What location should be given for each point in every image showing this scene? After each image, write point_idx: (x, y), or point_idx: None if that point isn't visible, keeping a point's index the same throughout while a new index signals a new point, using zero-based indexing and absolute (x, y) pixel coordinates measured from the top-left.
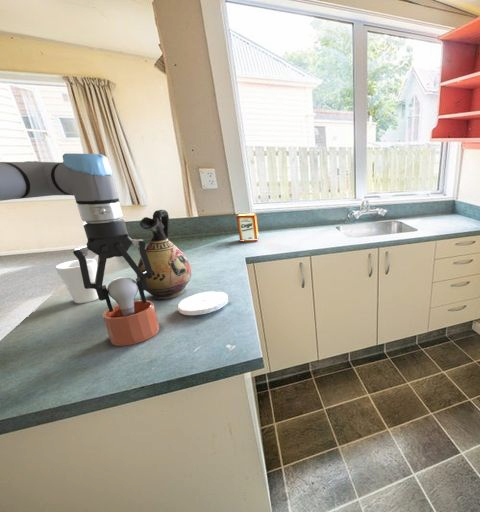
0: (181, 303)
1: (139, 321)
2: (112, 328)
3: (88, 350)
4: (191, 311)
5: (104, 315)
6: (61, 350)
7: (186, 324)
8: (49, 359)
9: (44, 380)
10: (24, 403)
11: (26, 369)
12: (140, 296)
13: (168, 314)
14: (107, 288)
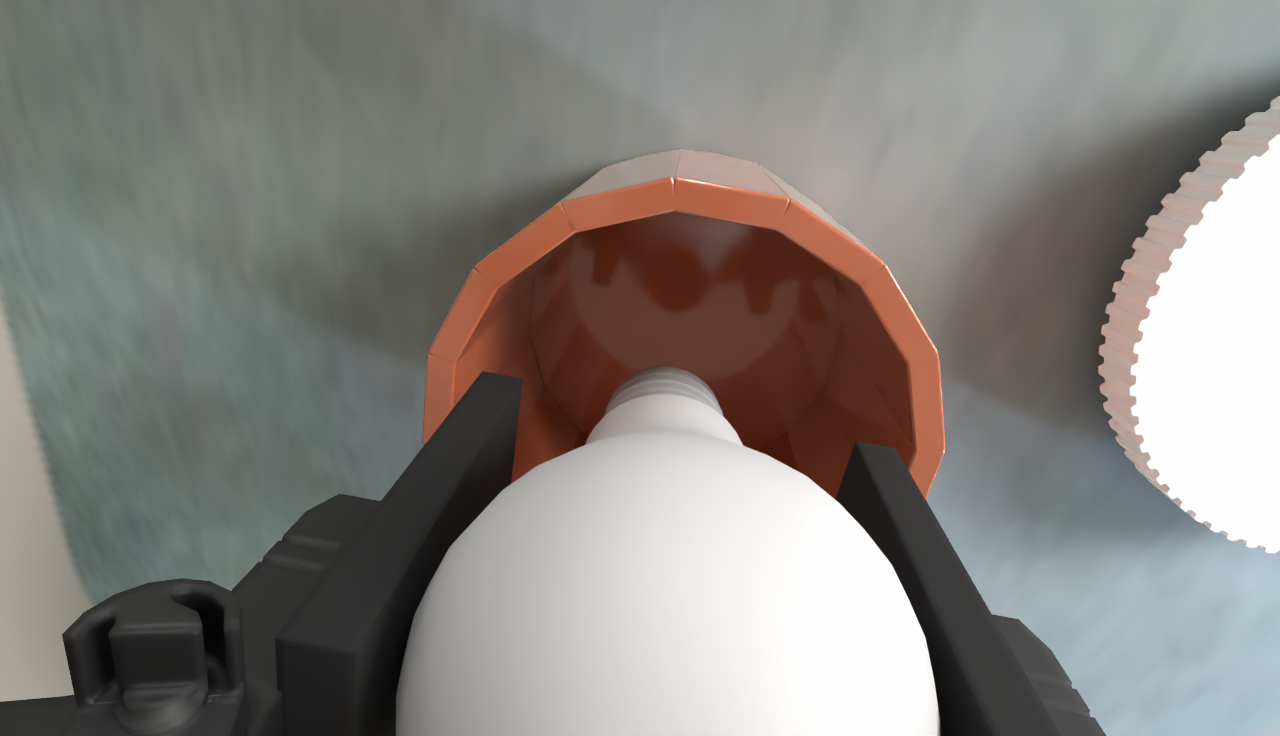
0: (1263, 192)
1: None
2: None
3: (381, 278)
4: (1146, 464)
5: (438, 409)
6: (225, 90)
7: (994, 484)
8: (167, 183)
9: (176, 449)
10: (129, 580)
11: (61, 210)
12: (866, 498)
13: (1057, 138)
14: (396, 701)
